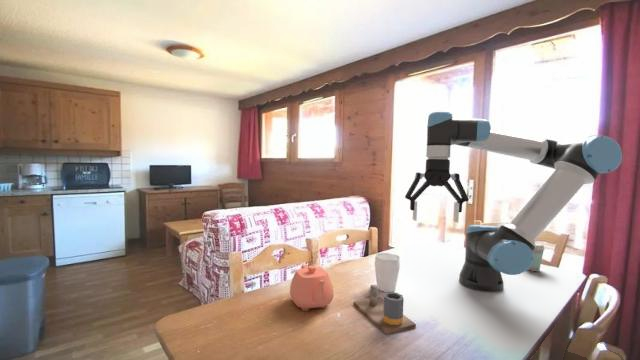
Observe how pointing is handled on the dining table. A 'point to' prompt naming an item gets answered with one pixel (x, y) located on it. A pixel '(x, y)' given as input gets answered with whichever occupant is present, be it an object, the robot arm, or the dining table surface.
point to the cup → (387, 271)
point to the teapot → (311, 288)
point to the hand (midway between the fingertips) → (435, 220)
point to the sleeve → (393, 308)
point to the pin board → (380, 313)
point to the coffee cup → (537, 257)
